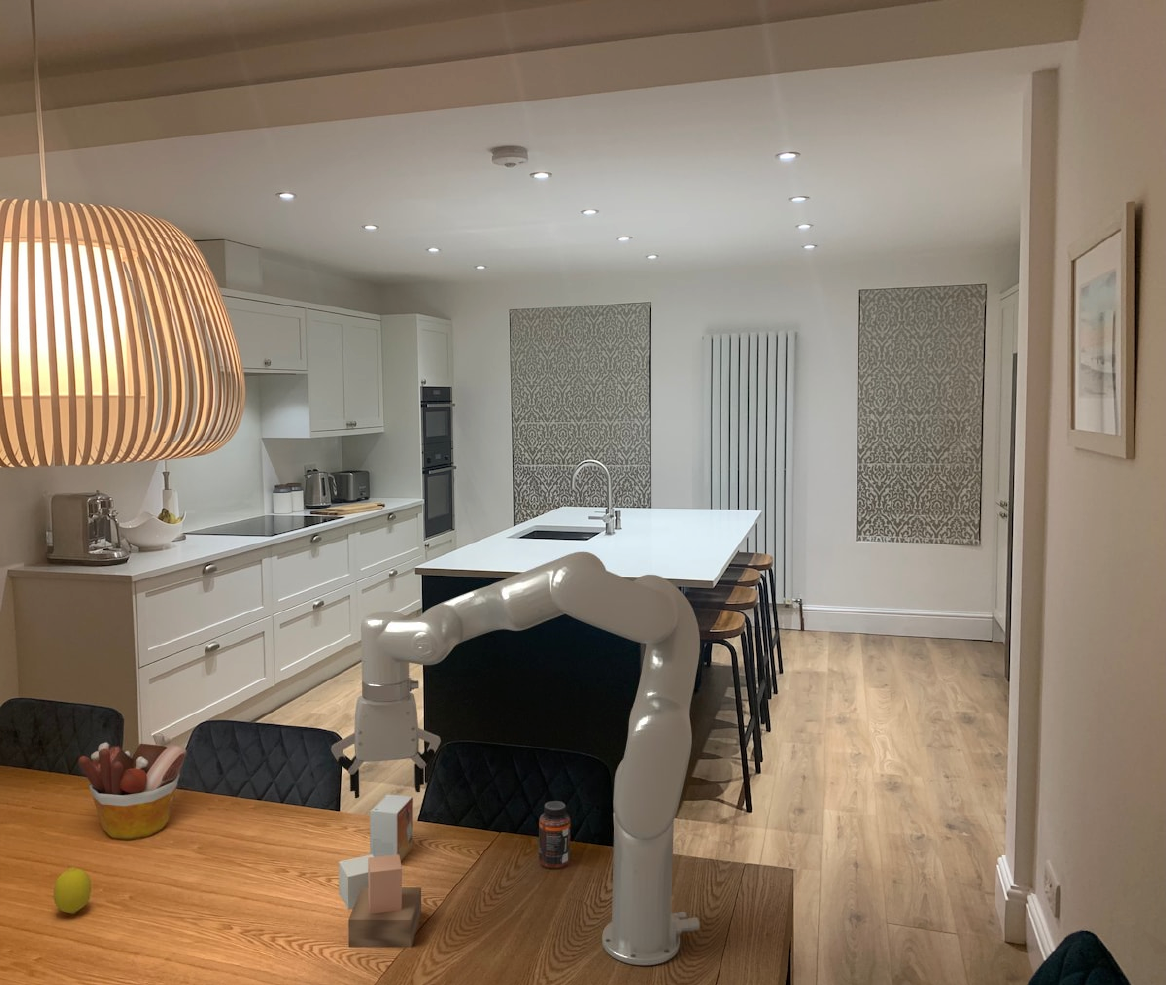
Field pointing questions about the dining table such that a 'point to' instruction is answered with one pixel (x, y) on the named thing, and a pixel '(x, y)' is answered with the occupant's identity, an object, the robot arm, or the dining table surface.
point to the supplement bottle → (554, 836)
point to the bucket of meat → (134, 786)
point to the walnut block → (385, 922)
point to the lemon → (72, 890)
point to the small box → (392, 826)
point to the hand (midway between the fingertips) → (387, 791)
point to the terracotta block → (384, 884)
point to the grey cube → (353, 878)
